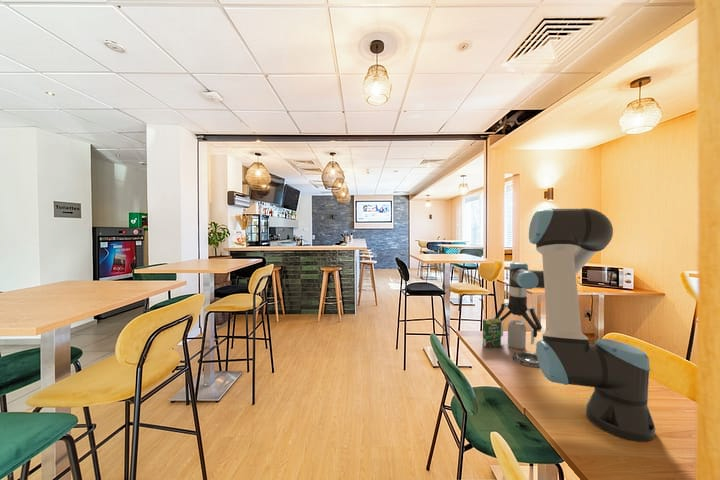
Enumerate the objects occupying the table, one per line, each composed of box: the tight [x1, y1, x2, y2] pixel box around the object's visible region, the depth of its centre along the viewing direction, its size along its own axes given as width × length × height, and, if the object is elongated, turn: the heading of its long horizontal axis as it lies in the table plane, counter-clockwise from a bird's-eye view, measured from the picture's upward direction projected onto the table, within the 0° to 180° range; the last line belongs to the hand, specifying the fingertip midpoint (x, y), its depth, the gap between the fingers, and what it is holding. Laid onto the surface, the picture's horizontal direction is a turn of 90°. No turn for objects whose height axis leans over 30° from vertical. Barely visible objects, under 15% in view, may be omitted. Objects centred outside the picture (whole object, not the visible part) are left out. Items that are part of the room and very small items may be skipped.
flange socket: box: [511, 351, 541, 369], centre depth 128 cm, size 13×13×2 cm
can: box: [507, 319, 527, 350], centre depth 142 cm, size 8×8×12 cm
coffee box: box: [482, 318, 502, 349], centre depth 142 cm, size 8×3×13 cm, turn 98°
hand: (516, 339), depth 143 cm, fingers open, 13 cm apart
